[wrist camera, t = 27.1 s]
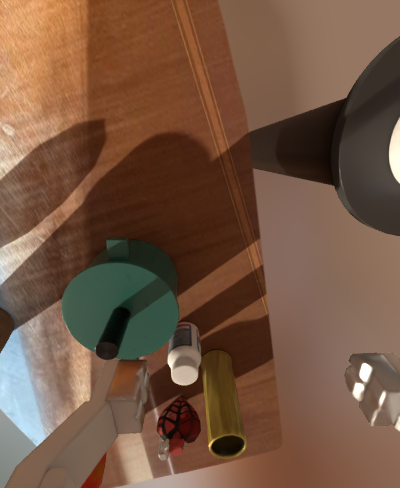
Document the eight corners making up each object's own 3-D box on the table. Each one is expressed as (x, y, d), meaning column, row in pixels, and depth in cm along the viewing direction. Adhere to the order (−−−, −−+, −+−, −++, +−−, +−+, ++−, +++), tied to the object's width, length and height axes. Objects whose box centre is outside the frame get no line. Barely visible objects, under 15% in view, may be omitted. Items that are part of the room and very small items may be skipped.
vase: (237, 355, 46) (258, 439, 32) (221, 377, 47) (235, 464, 34) (209, 345, 44) (219, 427, 31) (194, 367, 46) (197, 454, 33)
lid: (178, 258, 29) (176, 289, 23) (179, 351, 34) (177, 398, 28) (55, 258, 28) (15, 290, 22) (75, 354, 34) (47, 403, 27)
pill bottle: (164, 334, 43) (158, 378, 35) (182, 315, 42) (181, 356, 33) (186, 348, 44) (187, 393, 36) (205, 330, 43) (209, 373, 35)
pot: (176, 222, 36) (174, 242, 28) (177, 326, 42) (176, 365, 35) (83, 221, 35) (53, 241, 27) (99, 327, 42) (79, 368, 34)
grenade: (158, 393, 48) (151, 451, 39) (197, 388, 48) (200, 445, 39) (161, 410, 50) (156, 469, 40) (200, 406, 50) (203, 464, 41)
